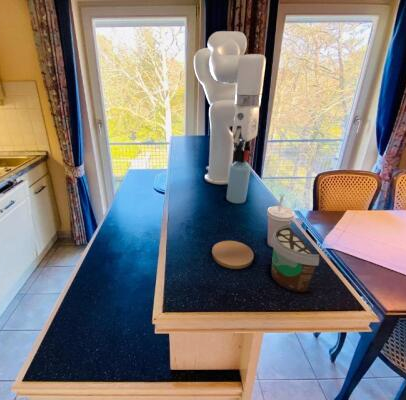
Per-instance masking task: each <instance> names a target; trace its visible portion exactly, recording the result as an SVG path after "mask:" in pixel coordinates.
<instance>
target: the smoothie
mask: <svg viewBox="0 0 406 400" xmlns="http://www.w3.org/2000/svg"><path fill="white" fill-rule="evenodd" d="M283 199H284V195H283V194H281V195H280V197H279V204H278V205H272V206H270V207H268V208H267V211H266V214H267V245H268V246H269V247H271V248H273V247H272V244H271V238H272V236H273V234H274V232H275V231H276V230H277V228H279V227H280V226H283V225H287V224H291V223H292V221H293V220H294V219H295V212H294V211H293V210H292V208H289V207H287V206H286V207H285V206H282V205H283ZM291 225H292V224H291Z"/></svg>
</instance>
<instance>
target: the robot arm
mask: <svg viewBox="0 0 406 400" xmlns="http://www.w3.org/2000/svg"><path fill="white" fill-rule="evenodd" d="M247 46H248V41H247V37H246V35H245V33H243V32H242V31H234V30H233V31H227V30H220V31H215V32H213V33H212V34H211V35H210V36H209V37H208V40H207V47H204V48H201V49H198V50H197V51H196V52H195V54H194V56H193V68H194V72H195V76H196V78H197V80H198V81H199V83H200V85H202V87H203V90H204V93H205V96H206V99H207V102H208V104H209V105H210V106H209V109H208V117H209V118H208V119H209V132H210V134H209V136H210V137H209V156H208V166H206V167H205V169H206V170H207V173H206V174H204V180H205V181H206V182H207V183H210V184H214V185H228V180H229V172H230V166H231V164H233V163H234V162H235V161H236V162H242V163H243V162H244V158H245V150H248V151H249V155H248V160H249V159H250V155H251V146H252V141H253V139H255V138H256V137H257V136H258V131H259V121H260V120H259V119H260V107H261V103H262V95H263V87H264V80H265V79H264V78H265V71H266V63H267V62H266V61H267V58H266V56H265V55H263V54H261V53H260V54H259V53H249V54H245V53H246V51H247ZM231 127H232V130H231V129H230V128H231ZM244 149H245V150H244ZM233 161H234V162H233Z"/></svg>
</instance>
